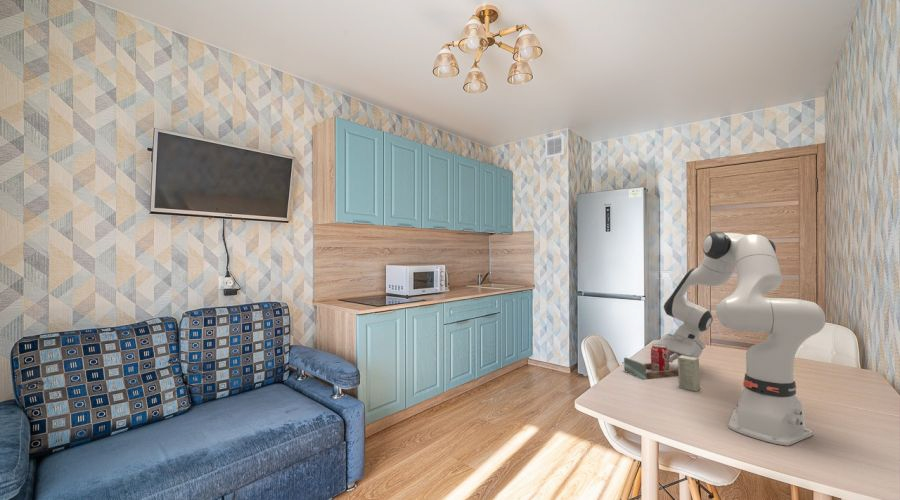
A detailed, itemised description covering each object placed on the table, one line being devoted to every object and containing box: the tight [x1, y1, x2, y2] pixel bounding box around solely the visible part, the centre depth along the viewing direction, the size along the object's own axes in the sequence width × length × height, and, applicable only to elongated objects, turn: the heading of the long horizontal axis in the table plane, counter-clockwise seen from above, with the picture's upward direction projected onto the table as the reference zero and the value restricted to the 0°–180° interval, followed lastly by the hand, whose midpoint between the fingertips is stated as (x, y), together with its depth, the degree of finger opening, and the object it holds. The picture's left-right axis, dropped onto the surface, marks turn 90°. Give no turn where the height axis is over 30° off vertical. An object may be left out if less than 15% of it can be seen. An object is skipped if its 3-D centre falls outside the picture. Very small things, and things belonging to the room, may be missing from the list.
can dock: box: [623, 357, 679, 380], centre depth 163 cm, size 18×12×6 cm, turn 104°
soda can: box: [650, 343, 670, 372], centre depth 164 cm, size 7×7×12 cm
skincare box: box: [677, 355, 701, 392], centre depth 144 cm, size 6×4×12 cm
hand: (667, 361), depth 165 cm, fingers closed
